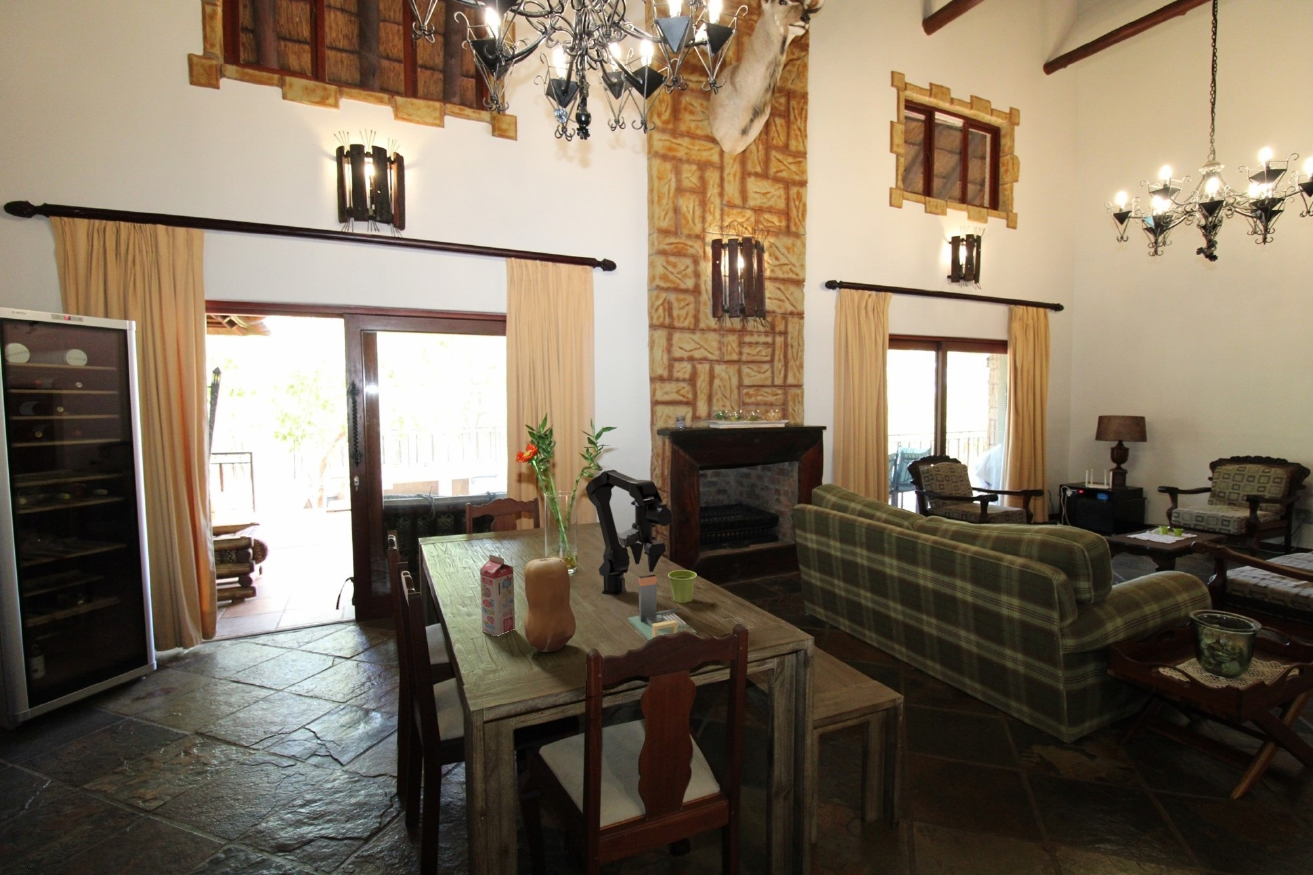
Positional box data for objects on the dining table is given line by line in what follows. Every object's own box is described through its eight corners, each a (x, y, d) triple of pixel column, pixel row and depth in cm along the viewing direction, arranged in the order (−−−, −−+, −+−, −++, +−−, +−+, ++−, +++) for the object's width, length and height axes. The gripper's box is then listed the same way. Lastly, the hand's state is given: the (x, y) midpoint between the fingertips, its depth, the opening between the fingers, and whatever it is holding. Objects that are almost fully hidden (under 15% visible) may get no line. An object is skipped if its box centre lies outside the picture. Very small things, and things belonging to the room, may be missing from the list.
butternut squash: (543, 636, 172) (541, 549, 170) (585, 643, 167) (583, 554, 165) (514, 656, 160) (511, 563, 157) (558, 664, 154) (555, 568, 152)
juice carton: (501, 624, 181) (498, 552, 179) (515, 629, 177) (512, 555, 175) (482, 631, 176) (479, 557, 174) (496, 637, 172) (493, 561, 170)
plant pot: (694, 606, 195) (694, 579, 194) (665, 604, 197) (665, 578, 196) (698, 596, 204) (698, 570, 203) (671, 594, 206) (670, 569, 205)
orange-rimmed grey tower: (638, 619, 181) (638, 576, 180) (678, 612, 186) (678, 571, 185) (648, 628, 174) (648, 584, 173) (689, 621, 180) (689, 578, 178)
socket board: (627, 620, 183) (627, 606, 183) (669, 612, 189) (669, 599, 189) (650, 643, 167) (650, 628, 167) (696, 634, 172) (696, 619, 172)
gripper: (608, 517, 198) (608, 564, 200) (635, 529, 182) (635, 580, 184) (638, 513, 204) (638, 559, 205) (667, 525, 188) (667, 574, 189)
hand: (644, 568), depth 196 cm, fingers open, 9 cm apart
